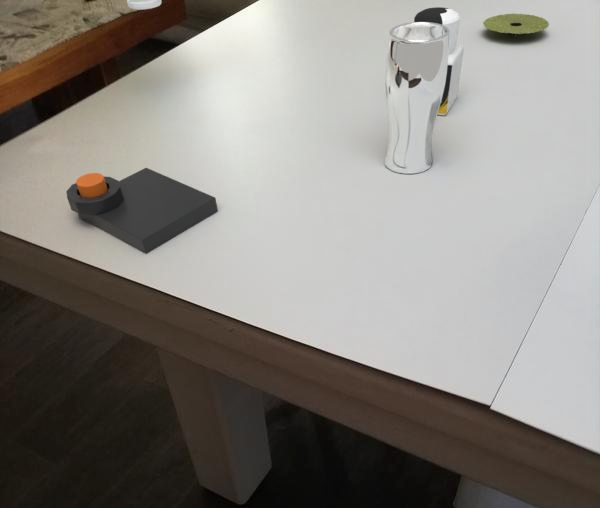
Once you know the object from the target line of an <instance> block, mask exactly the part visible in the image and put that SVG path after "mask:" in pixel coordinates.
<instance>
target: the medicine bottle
mask: <svg viewBox="0 0 600 508" xmlns="http://www.w3.org/2000/svg"><path fill="white" fill-rule="evenodd" d="M460 21H461V17H460V14H459V13H458V12H457V11H455V10H454V9H452V8H449V7H440V6H439V7H438V6H437V7H436V6H435V7H429V8H424V9H423V10H421V11H419V12H417V13H416V15H415V16H414V19H413V22H432V23H438V24H441V25H444V26H446V27H448V28H449V30H450V33H449V53H448V67H447V75H446V82H445V87H444V92H443V96H442V100H441V103H440V107H439V110H438V114H437V116H443V117H444V116H447V114H448V113H449V111H450V109H451V108H452V106H453V104H454V103H455V101H456V100H457V98H458V96H459V95H458V94H459V87H460V80H461V72H462V65H463V56H464V49H465V48H464V46H463V45H461V44H457V43H458V35H459V27H460Z"/></svg>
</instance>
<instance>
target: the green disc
mask: <svg viewBox="0 0 600 508" xmlns="http://www.w3.org/2000/svg"><path fill="white" fill-rule="evenodd" d="M482 24H483V26H484V28H485V29H488V30H490V31H493V32H498V33H502V34H508V33H512V34H511V35H513V34H515V35H517V34H518V35H521V34H523V35H524V34H534V33H538V32H541V31H544V30H546V29H547V28H549V26H550V23H549V21H548V20H547V19H545V18H544V17H541V16H538V15H534V14H526V13H505V14H498V15H493V16H490V17H488V18H486V19H485V20H483V22H482Z"/></svg>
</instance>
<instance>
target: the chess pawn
mask: <svg viewBox="0 0 600 508" xmlns="http://www.w3.org/2000/svg"><path fill="white" fill-rule="evenodd" d="M162 3H163V2H162V0H126V4H127V7H128V8H129V9H131V10H138V11H139V10H141V11H142V10H144V11H145V10H151V9H154V8H155V9H156V8H157V7H160V6H161V5H162Z"/></svg>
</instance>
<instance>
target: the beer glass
mask: <svg viewBox="0 0 600 508" xmlns="http://www.w3.org/2000/svg"><path fill="white" fill-rule="evenodd" d="M449 33H450V30H449V28H448V27H446V26H444V25H441V24H438V23H432V22H414V21H413V22H412V21H411V22H405V23H400V24H397V25H395V26H394V27H392V28H391V29H390V30H389V37H388V46H387V53H386V62H385V82H384V83H385V98H386V109H387V118H388V126H389V134H388V135H389V136H388V144H387V148H386V153H385V157H384V165H385V167H386V168H387V169H389V170H390V171H391V172H394V173H398V174H402V175H415V174H420V173H423V172H425V171H428V170H429V169H430V168H431V167H432V165H433V163H434V162H433V160H434V157H433V135H434V134H433V133H434V128H435V124H436V121H437V117H438V115H437V114H438V110H439V107H440V103H441V100H442V96H443V92H444V87H445V82H446V75H447V67H448V53H449Z"/></svg>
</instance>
